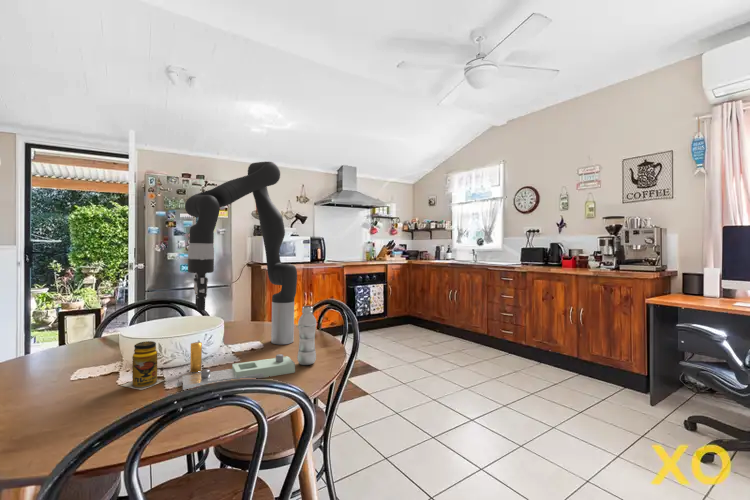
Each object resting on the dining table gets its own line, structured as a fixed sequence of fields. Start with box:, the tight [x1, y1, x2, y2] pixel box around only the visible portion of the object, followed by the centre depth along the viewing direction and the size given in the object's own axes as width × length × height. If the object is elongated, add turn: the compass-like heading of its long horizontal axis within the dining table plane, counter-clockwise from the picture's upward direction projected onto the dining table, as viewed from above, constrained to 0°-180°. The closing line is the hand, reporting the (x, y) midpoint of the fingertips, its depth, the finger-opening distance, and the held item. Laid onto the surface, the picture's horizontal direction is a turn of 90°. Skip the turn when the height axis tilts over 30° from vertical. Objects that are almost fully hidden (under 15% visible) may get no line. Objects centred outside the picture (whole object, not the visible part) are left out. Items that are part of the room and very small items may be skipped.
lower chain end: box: [181, 367, 264, 391], centre depth 107 cm, size 8×22×4 cm, turn 120°
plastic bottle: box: [296, 305, 317, 366], centre depth 122 cm, size 6×7×20 cm
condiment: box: [120, 340, 165, 391], centre depth 103 cm, size 7×8×12 cm
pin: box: [189, 341, 203, 373], centre depth 113 cm, size 3×3×9 cm
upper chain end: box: [231, 353, 296, 378], centre depth 113 cm, size 8×18×5 cm, turn 120°
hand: (200, 308), depth 113 cm, fingers open, 8 cm apart
